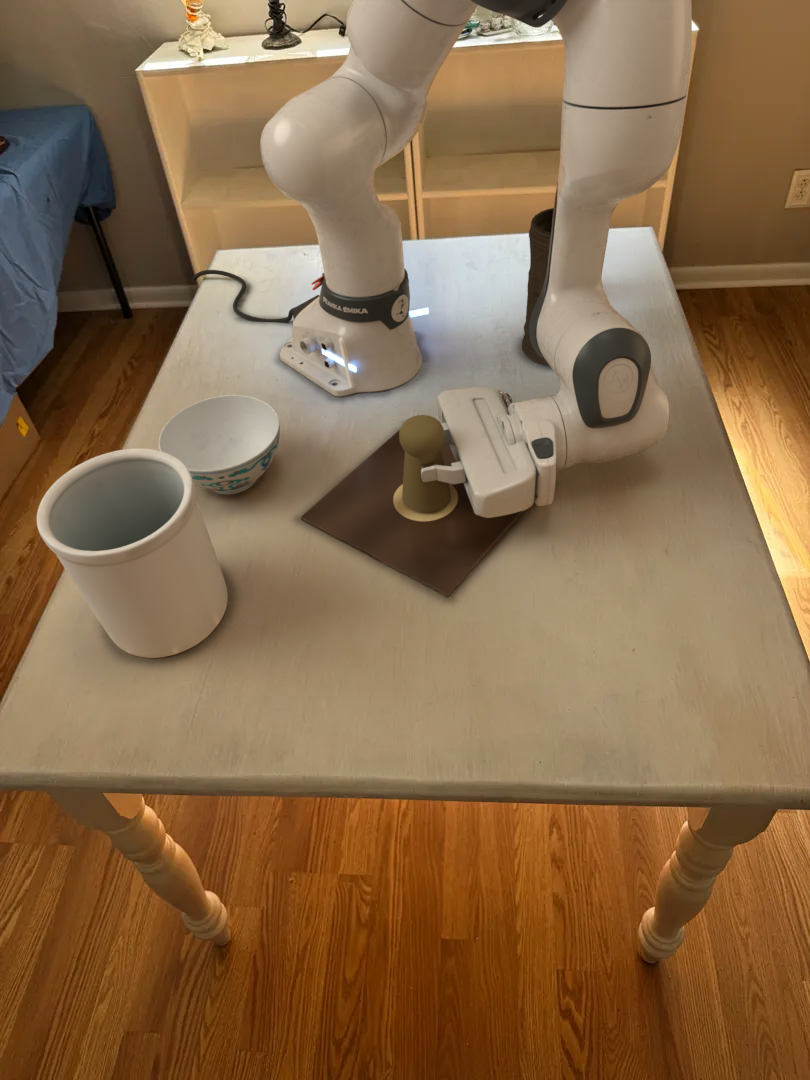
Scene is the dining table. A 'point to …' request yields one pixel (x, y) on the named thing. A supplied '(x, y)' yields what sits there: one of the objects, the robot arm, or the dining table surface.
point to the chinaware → (223, 441)
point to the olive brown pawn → (422, 447)
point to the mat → (407, 522)
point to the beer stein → (537, 272)
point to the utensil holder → (137, 549)
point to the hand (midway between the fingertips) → (416, 459)
